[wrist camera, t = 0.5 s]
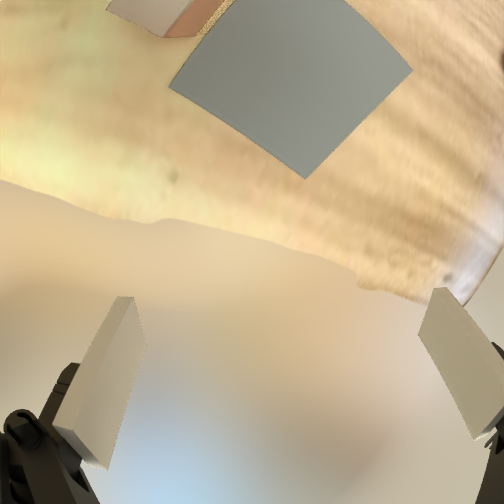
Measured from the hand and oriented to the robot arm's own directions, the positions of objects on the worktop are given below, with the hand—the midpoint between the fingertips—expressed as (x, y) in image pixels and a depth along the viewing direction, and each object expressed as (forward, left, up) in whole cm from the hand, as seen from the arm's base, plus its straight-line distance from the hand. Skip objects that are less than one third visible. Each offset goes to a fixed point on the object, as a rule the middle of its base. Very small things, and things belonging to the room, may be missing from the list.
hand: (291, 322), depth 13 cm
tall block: (-8, -15, -27) cm, 32 cm away
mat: (-8, -1, -27) cm, 29 cm away
